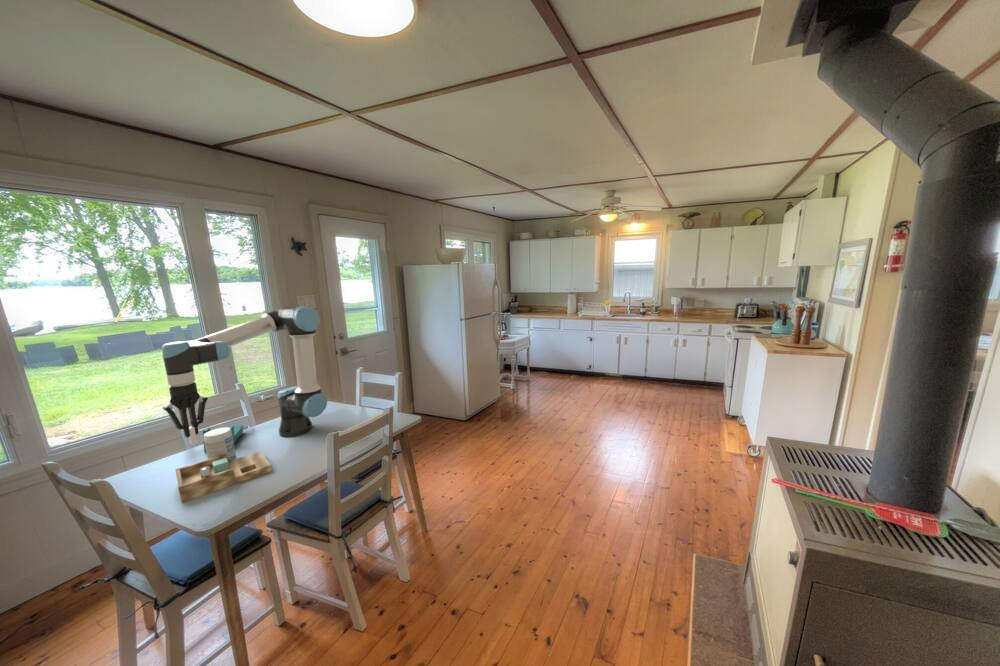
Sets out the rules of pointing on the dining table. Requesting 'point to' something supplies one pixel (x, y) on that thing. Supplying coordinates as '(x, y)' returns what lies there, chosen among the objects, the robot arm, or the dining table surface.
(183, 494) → the wooden tray
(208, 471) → the silver metal knob
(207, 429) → the teal l-shaped bracket
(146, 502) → the dining table surface
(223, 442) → the supplement tub
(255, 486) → the dining table surface
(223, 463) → the cube
